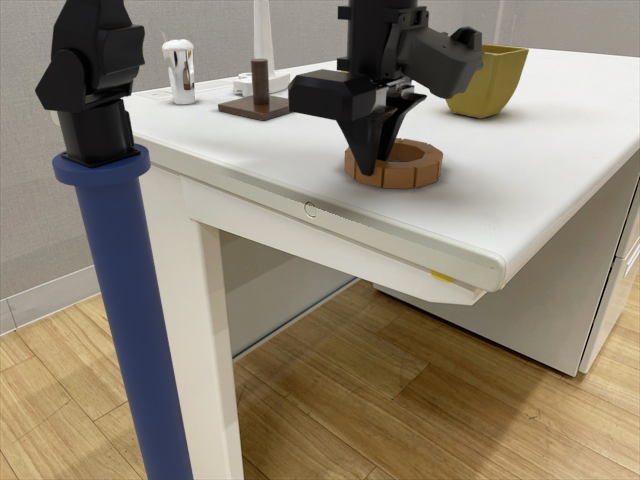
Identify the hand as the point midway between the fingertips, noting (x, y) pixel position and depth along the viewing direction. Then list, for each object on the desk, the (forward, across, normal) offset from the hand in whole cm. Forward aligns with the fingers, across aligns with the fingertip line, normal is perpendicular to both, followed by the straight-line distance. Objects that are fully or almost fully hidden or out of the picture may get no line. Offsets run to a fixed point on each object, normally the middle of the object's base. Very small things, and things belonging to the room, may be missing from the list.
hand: (373, 171), depth 48 cm
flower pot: (+1, +31, +2) cm, 31 cm away
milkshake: (+1, +10, +41) cm, 42 cm away
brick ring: (+1, +4, 0) cm, 4 cm away
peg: (+1, +14, +28) cm, 32 cm away
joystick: (+1, +24, +38) cm, 45 cm away
